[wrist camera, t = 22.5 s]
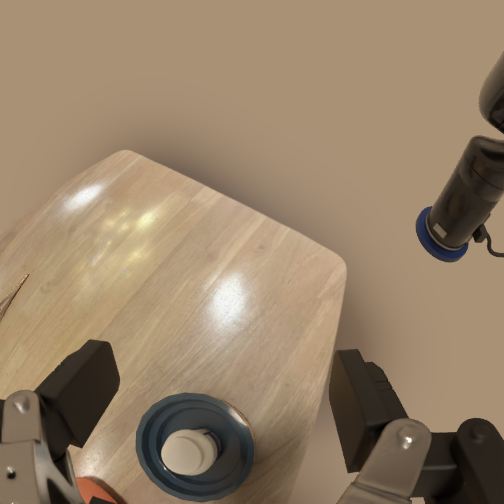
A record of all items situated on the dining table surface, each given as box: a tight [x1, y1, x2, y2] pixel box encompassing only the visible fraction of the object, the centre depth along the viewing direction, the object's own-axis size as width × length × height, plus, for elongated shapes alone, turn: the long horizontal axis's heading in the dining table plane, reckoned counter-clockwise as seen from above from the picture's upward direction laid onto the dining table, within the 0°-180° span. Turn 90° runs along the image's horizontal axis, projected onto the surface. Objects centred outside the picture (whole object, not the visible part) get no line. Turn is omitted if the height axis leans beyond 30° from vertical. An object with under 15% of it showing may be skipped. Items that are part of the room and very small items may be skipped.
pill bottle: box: [161, 427, 222, 475], centre depth 26 cm, size 5×5×10 cm
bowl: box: [136, 393, 256, 502], centre depth 28 cm, size 14×14×6 cm
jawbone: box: [0, 274, 29, 318], centre depth 40 cm, size 17×5×2 cm, turn 147°
